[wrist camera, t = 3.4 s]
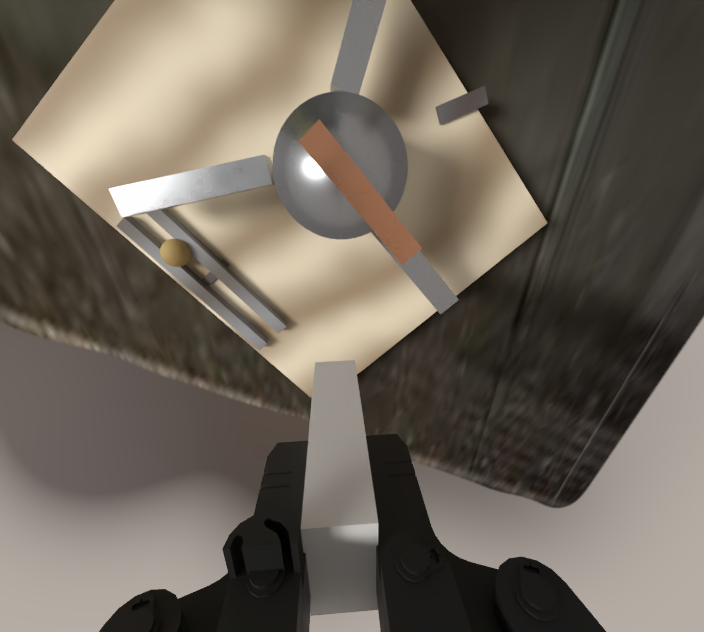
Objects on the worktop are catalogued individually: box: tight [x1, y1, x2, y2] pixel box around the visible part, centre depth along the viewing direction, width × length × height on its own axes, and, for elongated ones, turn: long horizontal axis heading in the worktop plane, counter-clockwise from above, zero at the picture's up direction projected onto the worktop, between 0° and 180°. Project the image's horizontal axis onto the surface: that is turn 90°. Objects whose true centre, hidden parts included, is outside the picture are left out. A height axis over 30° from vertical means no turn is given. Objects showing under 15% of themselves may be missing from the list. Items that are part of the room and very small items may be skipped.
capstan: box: [109, 0, 459, 314], centre depth 18 cm, size 17×20×7 cm
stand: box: [13, 0, 547, 398], centre depth 21 cm, size 26×23×4 cm
